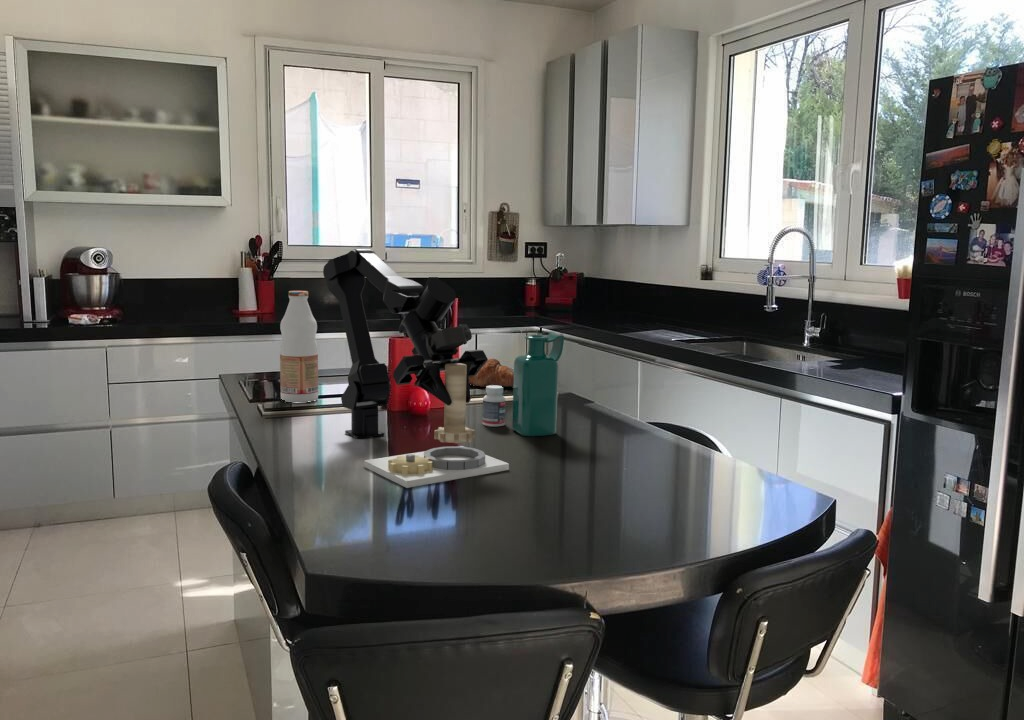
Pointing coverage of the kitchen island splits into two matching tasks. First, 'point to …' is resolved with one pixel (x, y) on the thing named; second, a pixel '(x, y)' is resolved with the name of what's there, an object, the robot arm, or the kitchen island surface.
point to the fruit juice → (298, 351)
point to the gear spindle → (455, 407)
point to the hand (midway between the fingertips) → (459, 402)
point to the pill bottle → (494, 406)
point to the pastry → (493, 375)
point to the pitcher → (536, 387)
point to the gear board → (436, 472)
